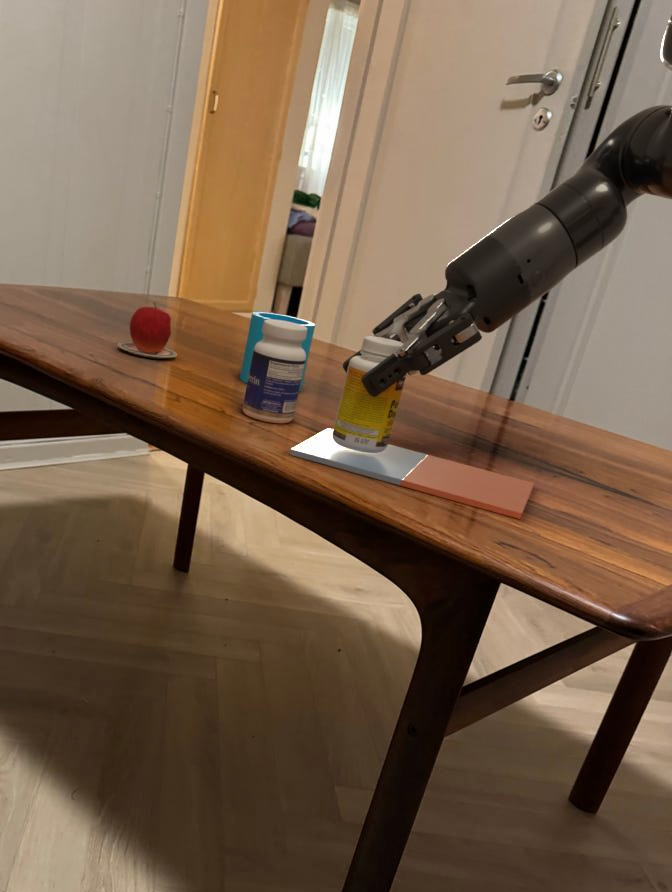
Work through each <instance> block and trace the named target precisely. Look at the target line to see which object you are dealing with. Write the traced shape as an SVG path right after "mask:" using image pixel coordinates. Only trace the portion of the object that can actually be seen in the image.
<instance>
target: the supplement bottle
mask: <svg viewBox="0 0 672 892" xmlns="http://www.w3.org/2000/svg"><path fill="white" fill-rule="evenodd" d="M402 345H403V343H401V342H399V341H395V340H391V339H387V338H381V337H375V336H374V335H373V336H372V335H366V336H364V337H363V341H362V344H361V347H360V350H361V349H362V350H361V351H360V350H359V351H360V353H361V354H362V356H354V357H353V358H351V360H350V362H349V365H348V369H347V373H345V378H344V383H343V387H342V390H341V395H340V398H339V404H338V408H337V410H336V411H337V412H336V415H335V420H334V425H333V428H332V429H333V433H332V438H333V440H334V441H335V442H336V443H337V444H339V445H341V446H343V447H346V448H349V449H352V450H356V451H361V452H368V453H378V452H382V451H383V450H385V449H386V447H387V444H389V442H390V441H389V440H390V437H391V433H392V429H393V426H394V422H395V418H396V415H397V411H398V408H399V403H400V399H401V396H402V394H403V393H402V392H403V388H404V385H405V381H406V379H407V375H408V373H406V374H407V375H405V376H404V377H403V378H401V379H400V380H398V381H397V382H396V383H394V384H393V385H392V386H390V387H389V388H387V389H386V390H385V391H383V392H382V393H381V394H379V395H378V396H376V397H373V396H371V395H370V394H369V393H368V392H367V390H366V389H365V387H364V385H363V384H362V382H361V378H362V376H363V375H364V374H366V373H367V372H368V371H370V370H371V369H373V368H374V367H375V366H377V365H378V364H379V363H381V362H382V361H383V360H385V359H386V358H388V357H389V356H390V355H392V354H395V355H396V357H397V356H398V355H397V354H396V352H397V351H398V349H399V348H400V347H401V346H402Z"/></svg>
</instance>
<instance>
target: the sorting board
mask: <svg viewBox="0 0 672 892" xmlns="http://www.w3.org/2000/svg"><path fill="white" fill-rule="evenodd" d="M332 433H333V428H330V427H327V428H326V429H324V430H322V431H320V432H318V433H317V434H315V435H313V436H311V437H309V438H308V439H305V440H304V441H303V442H300V443H299V444H297V445H295V446H294V447H291V448H290V450H289V456H293V457H296V458H300V459H303V460H306V461H310V462H314V463H318V464H321V465H325V466H328V467H332V468H335V469H339V470H341V471H342V470H343V471H346V472H350V473H353V474H356V475H357V474H358V475H360V476H364V477H368V478H371V479H375V480H379V481H382V482H385V483H388V484H389V483H390V484H391V485H396V486H400V487H403V488H407V489H411V490H414V491H418V492H422V493H425V494H428V495H432V496H436V497H439V498H442V499H446V500H450V501H453V502H457V503H461V504H463V505H467V506H471V507H475V508H479V509H482V510H485V511H488V512H493V513H496V514H499V515H504V516H507V517H510V518H513V519H514V518H515V519H518V520H521V519H522V516H523V513H524V511H525V508H526V506H527V503H528V501H529V499H530V496H531V494H532V491H533V489H534V486H535V482H532V481H528V480H524V479H521V478H516V477H513V476H510V475H505V474H502V473H499V472H494V471H491V470H487V469H483V468H479V467H475V466H472V465H468V464H464V463H462V462H461V463H460V462H458V461H457V462H456V461H453V460H449V459H446V458H442V457H439V456H435V455H432V454H426V453H423V452H419V451H417V450H416V451H415V450H412V449H408V448H404V447H401V446H397V445H394V444H389V443H388V444H387V447H386V449H385V450H383V451H382V452H378V453H368V452H361V451H356V450H352V449H349V448H346V447H343V446H341V445H339V444H337V443H336V442H335V441H334V440H333V438H332Z"/></svg>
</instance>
